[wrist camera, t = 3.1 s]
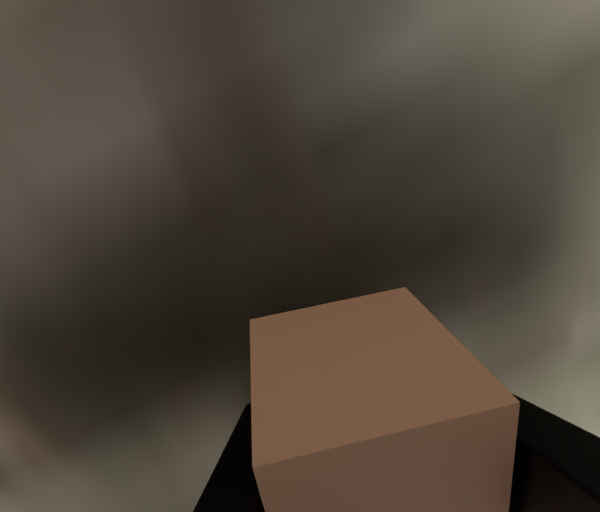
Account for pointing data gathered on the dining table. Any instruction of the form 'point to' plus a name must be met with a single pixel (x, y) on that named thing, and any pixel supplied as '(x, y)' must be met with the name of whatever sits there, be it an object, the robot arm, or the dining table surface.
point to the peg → (376, 412)
